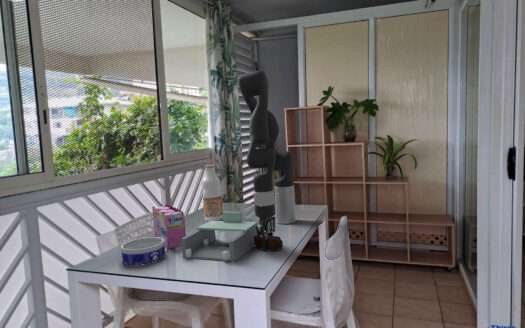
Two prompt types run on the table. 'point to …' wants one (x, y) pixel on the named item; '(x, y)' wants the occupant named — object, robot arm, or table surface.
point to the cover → (228, 223)
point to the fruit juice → (212, 195)
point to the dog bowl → (143, 250)
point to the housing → (200, 249)
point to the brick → (270, 243)
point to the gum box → (169, 225)
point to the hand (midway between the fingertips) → (267, 247)
